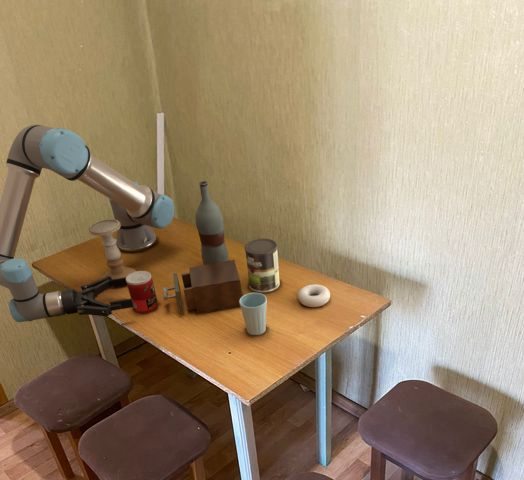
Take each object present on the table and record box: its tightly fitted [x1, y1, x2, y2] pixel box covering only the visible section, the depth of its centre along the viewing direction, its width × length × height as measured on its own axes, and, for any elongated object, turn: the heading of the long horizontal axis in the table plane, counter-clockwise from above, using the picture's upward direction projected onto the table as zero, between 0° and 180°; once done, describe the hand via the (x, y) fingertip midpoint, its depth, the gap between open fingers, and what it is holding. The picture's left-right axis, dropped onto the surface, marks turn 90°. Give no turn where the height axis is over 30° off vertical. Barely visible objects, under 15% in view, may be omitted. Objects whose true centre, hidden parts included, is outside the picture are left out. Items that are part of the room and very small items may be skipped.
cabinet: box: [188, 259, 243, 315], centre depth 166 cm, size 15×13×10 cm
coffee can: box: [244, 238, 281, 294], centre depth 169 cm, size 10×10×14 cm
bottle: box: [194, 180, 229, 265], centre depth 177 cm, size 9×9×30 cm
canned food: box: [126, 270, 159, 314], centre depth 166 cm, size 8×8×11 cm
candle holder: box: [88, 218, 137, 289], centre depth 178 cm, size 12×12×20 cm
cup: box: [239, 292, 268, 336], centre depth 151 cm, size 8×8×10 cm
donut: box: [297, 283, 331, 308], centre depth 163 cm, size 10×3×10 cm
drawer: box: [162, 272, 196, 314], centre depth 165 cm, size 18×11×8 cm, turn 100°
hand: (132, 291), depth 165 cm, fingers open, 13 cm apart
